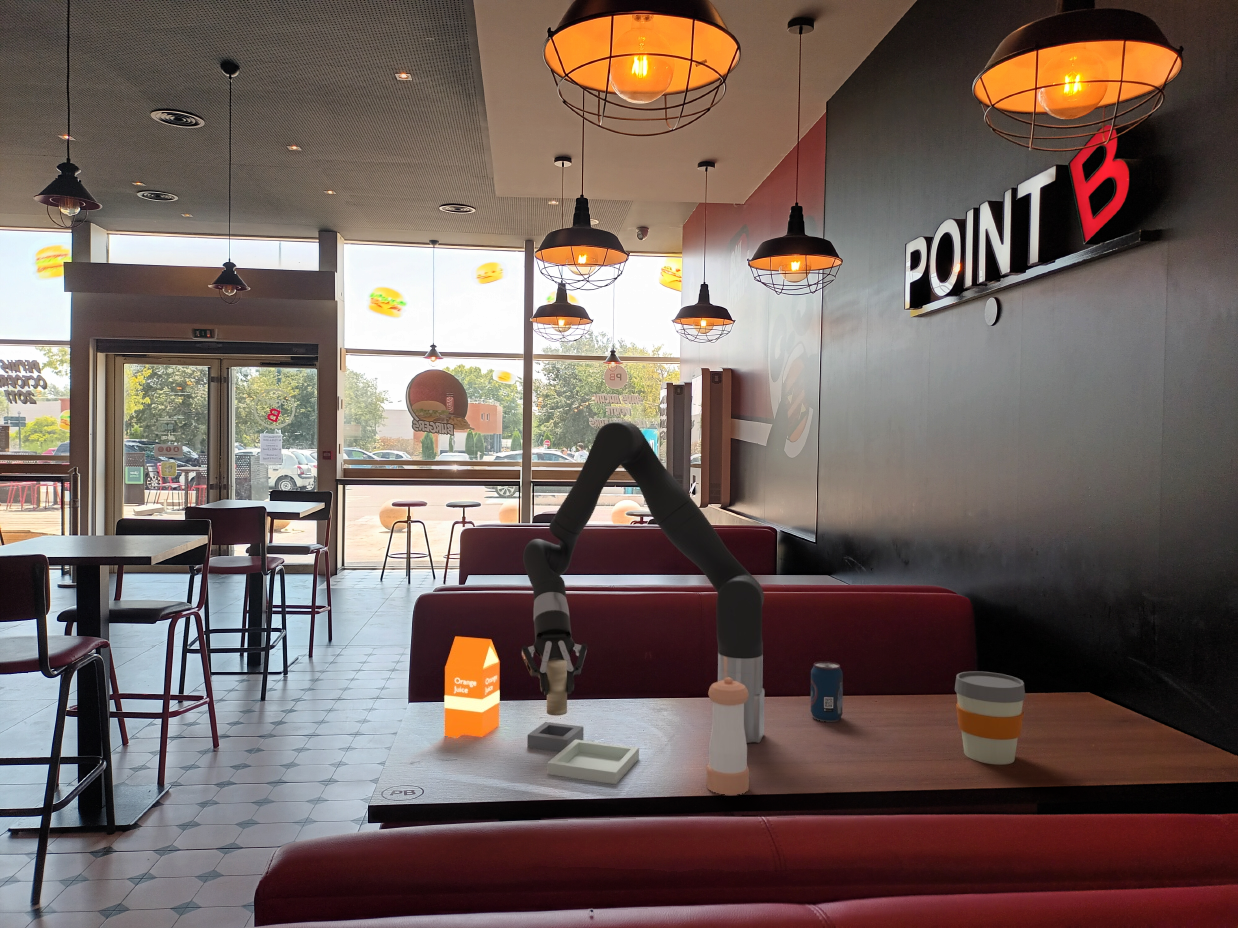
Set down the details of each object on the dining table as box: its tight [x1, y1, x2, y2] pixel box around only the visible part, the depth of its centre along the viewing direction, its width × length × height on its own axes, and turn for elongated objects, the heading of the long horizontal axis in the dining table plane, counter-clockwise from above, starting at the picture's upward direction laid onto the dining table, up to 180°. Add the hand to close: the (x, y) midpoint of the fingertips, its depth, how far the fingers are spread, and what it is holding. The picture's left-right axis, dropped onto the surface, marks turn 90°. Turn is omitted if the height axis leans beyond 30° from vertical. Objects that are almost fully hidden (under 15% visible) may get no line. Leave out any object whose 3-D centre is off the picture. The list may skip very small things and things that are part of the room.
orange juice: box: [444, 636, 501, 739], centre depth 166 cm, size 8×9×20 cm
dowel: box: [546, 660, 568, 716], centre depth 158 cm, size 4×4×10 cm
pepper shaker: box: [706, 677, 750, 796], centre depth 139 cm, size 7×7×19 cm
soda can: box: [810, 661, 844, 723], centre depth 178 cm, size 7×7×12 cm
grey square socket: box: [526, 721, 584, 753], centre depth 158 cm, size 8×8×4 cm
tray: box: [546, 739, 640, 785], centre depth 146 cm, size 13×13×3 cm
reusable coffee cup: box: [954, 670, 1026, 765], centre depth 156 cm, size 13×13×15 cm
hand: (558, 691), depth 156 cm, fingers closed on dowel, 4 cm apart
